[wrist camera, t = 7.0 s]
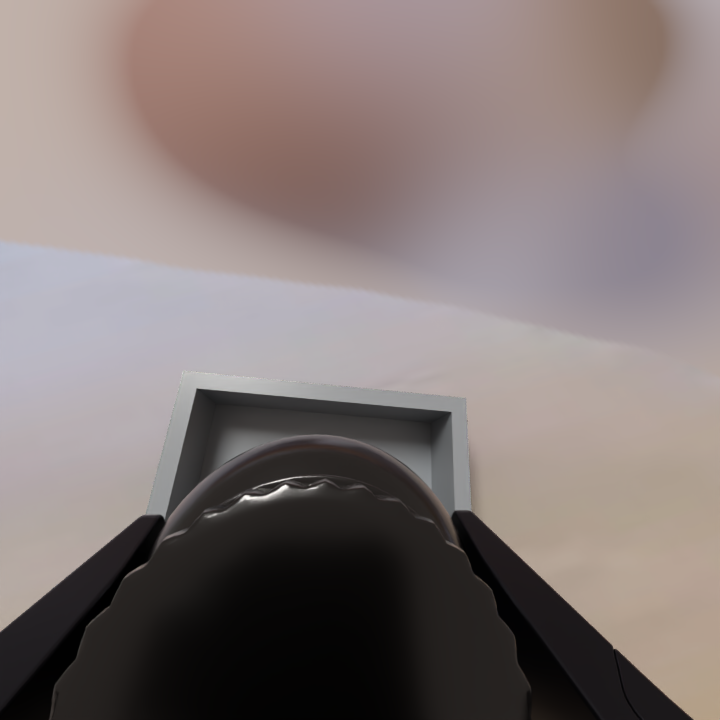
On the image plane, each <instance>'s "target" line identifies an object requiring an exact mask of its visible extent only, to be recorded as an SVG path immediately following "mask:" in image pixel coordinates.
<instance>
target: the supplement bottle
mask: <svg viewBox="0 0 720 720" xmlns="http://www.w3.org/2000/svg"><path fill="white" fill-rule="evenodd" d="M531 709H532V690H531V686H530V684H529V682H528V680H527V678H526V676H525V674H524V673H523V671H522V670H521V668H520V666H519V665H518V660H517V647H516V640H515V635H514V634H513V632H512V631H511V630H510V628H509V627H508V626H507V624H506V623H505V622H504V621H503V620H502V619H501V618H500V617H499V614H498V611H497V606H496V601H495V597H494V594H493V591H492V589H491V588H490V587H489V586H488V585H487V584H486V583H485V582H484V581H483V580H482V579H480V578H479V577H478V576H476V575H475V574H474V573H473V571H472V568H471V564H470V561H469V558H468V555H467V552H466V549H465V546H464V544H463V541H462V539H461V537H460V535H459V532H458V530H457V528H456V526H455V524H454V522H453V521H452V519H451V517H450V515H449V513H448V512H447V510H446V509H445V507H444V506H443V504H442V503H441V501H440V500H439V499H438V497H437V496H436V495H435V494H434V492H433V491H432V490H431V489H430V487H429V486H428V485H427V484H426V483H425V482H424V481H423V480H422V479H421V478H420V477H419V476H418V475H417V474H416V473H415V472H414V471H412V470H411V469H410V468H409V467H408V466H407V465H405V464H404V463H402V462H401V461H399V460H398V459H397V458H395V457H394V456H392V455H390V454H388V453H387V452H385V451H383V450H381V449H379V448H377V447H374V446H372V445H370V444H367V443H364V442H361V441H358V440H355V439H351V438H347V437H342V436H335V435H325V434H309V435H297V436H291V437H285V438H281V439H277V440H274V441H270V442H267V443H264V444H261V445H259V446H256V447H254V448H251V449H249V450H247V451H245V452H243V453H241V454H239V455H237V456H236V457H234V458H232V459H231V460H229V461H228V462H226V463H224V464H223V465H222V466H220V467H219V468H217V469H216V470H215V471H213V472H212V473H211V474H209V475H208V476H207V477H206V478H205V479H204V480H203V481H201V482H200V483H199V484H198V485H197V486H196V487H195V488H194V489H193V490H192V491H191V492H190V493H189V494H188V495H187V496H186V497H185V498H184V499H183V500H182V502H181V503H180V504H179V505H178V507H177V508H176V509H175V510H174V511H173V513H172V514H171V515H170V517H169V518H168V520H167V521H166V522H165V524H164V525H163V527H162V528H161V530H160V531H159V533H158V535H157V536H156V538H155V540H154V542H153V543H152V545H151V547H150V549H149V551H148V553H147V555H146V557H145V559H144V561H143V563H142V565H141V566H139V567H138V568H136V569H134V570H133V571H131V572H130V573H128V574H127V575H126V576H125V577H124V578H123V580H122V582H121V584H120V586H119V588H118V589H117V591H116V593H115V595H114V598H113V600H112V602H111V605H110V606H108V607H107V608H106V609H104V610H103V611H102V612H101V613H100V614H99V615H97V616H96V617H95V618H94V619H93V620H92V621H91V622H90V623H89V624H88V625H87V626H86V629H85V632H84V634H83V637H82V640H81V642H80V646H79V650H78V653H77V657H76V659H75V660H74V662H73V663H72V664H71V665H70V666H69V667H68V668H67V669H66V670H65V671H64V673H63V674H62V675H61V677H60V678H59V679H58V681H57V682H56V684H55V685H54V689H53V694H52V699H51V712H50V717H49V720H532V719H531Z"/></svg>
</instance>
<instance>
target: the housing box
mask: <svg viewBox="0 0 720 720" xmlns="http://www.w3.org/2000/svg"><path fill="white" fill-rule="evenodd" d="M309 434H325V435H335V436H342V437H347V438H351V439H355V440H358V441H361V442H364V443H367V444H370V445H372V446H374V447H377V448H379V449H381V450H383V451H385V452H387V453H388V454H390V455H392V456H394V457H395V458H397V459H398V460H399V461H401V462H402V463H404V464H405V465H407V466H408V467H409V468H410V469H411V470H412V471H414V472H415V473H416V474H417V475H418V476H419V477H420V478H421V479H422V480H423V481H424V482H425V483H426V484H427V485H428V486H429V487H430V489H431V490H432V491H433V492H434V494H435V495H436V496H437V497H438V499H439V500H440V501H441V503H442V504H443V506H444V507H445V509H446V510H447V512H448V513H449V515H450V517H451V516H452V513H453V512H454V511H455V510H469V511H471V491H470V471H469V450H468V429H467V408H466V398H461V397H451V396H440V395H430V394H419V393H409V392H399V391H388V390H378V389H367V388H357V387H347V386H336V385H326V384H316V383H305V382H295V381H284V380H274V379H264V378H253V377H243V376H232V375H222V374H212V373H201V372H191V371H183V374H182V378H181V382H180V385H179V389H178V393H177V397H176V401H175V404H174V408H173V412H172V416H171V420H170V423H169V427H168V431H167V435H166V439H165V442H164V446H163V450H162V454H161V458H160V461H159V465H158V469H157V473H156V477H155V480H154V484H153V488H152V492H151V495H150V499H149V503H148V507H147V511H146V514H145V515H150V514H160V515H162V516H163V517H164V520H165V522H166V521H167V520H168V518H169V517H170V515H171V514H172V513H173V511H174V510H175V509H176V508H177V507H178V505H179V504H180V503H181V502H182V500H183V499H184V498H185V497H186V496H187V495H188V494H189V493H190V492H191V491H192V490H193V489H194V488H195V487H196V486H197V485H198V484H199V483H200V482H201V481H203V480H204V479H205V478H206V477H207V476H208V475H209V474H211V473H212V472H213V471H215V470H216V469H217V468H219V467H220V466H222V465H223V464H224V463H226V462H228V461H229V460H231V459H232V458H234V457H236V456H237V455H239V454H241V453H243V452H245V451H247V450H249V449H251V448H254V447H256V446H259V445H261V444H264V443H267V442H270V441H274V440H277V439H281V438H285V437H291V436H297V435H309Z"/></svg>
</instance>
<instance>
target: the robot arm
mask: <svg viewBox="0 0 720 720" xmlns="http://www.w3.org/2000/svg"><path fill="white" fill-rule="evenodd" d="M451 519H452V521H453V522H454V524H455V526H456V528H457V530H458V532H459V535H460V537H461V539H462V541H463V544H464V546H465V549H466V552H467V555H468V558H469V561H470V564H471V568H472V571H473V573H474V574H475V575H476V576H478V577H479V578H480V579H482V580H483V581H484V582H485V583H486V584H487V585H488V586H489V587H490V588H491V589H492V591H493V594H494V597H495V601H496V606H497V611H498V614H499V617H500V618H501V619H502V620H503V621H504V622H505V623H506V624H507V626H508V627H509V628H510V630H511V631H512V632H513V634H514V635H515V640H516V647H517V660H518V665H519V666H520V668H521V670H522V671H523V673H524V674H525V676H526V678H527V680H528V682H529V684H530V686H531V690H532V709H531V719H532V720H693V719H692V718H691V717H690V716H689V715H688V714H687V713H685V712H684V711H683V710H682V709H681V708H680V707H679V706H677V705H676V704H675V703H674V702H673V701H672V700H671V699H669V698H668V697H667V696H666V695H665V694H664V693H663V692H662V691H661V690H660V689H659V688H658V687H656V686H655V685H654V684H653V683H652V682H651V681H650V680H649V679H648V678H647V677H646V676H645V675H643V674H642V673H641V672H640V671H639V670H638V669H637V668H636V667H635V666H634V665H633V664H632V663H631V662H630V661H629V660H628V659H626V658H625V657H624V656H623V655H622V654H621V653H620V652H619V651H618V650H617V649H613V646H612V645H611V644H610V643H609V642H608V641H607V640H606V639H605V638H604V637H603V636H602V635H601V634H600V633H599V632H598V631H597V630H596V629H595V628H594V627H593V626H592V625H591V624H589V623H588V622H587V621H586V620H585V619H584V618H583V617H582V616H581V615H580V614H579V613H578V612H577V611H576V610H575V609H574V608H573V607H572V606H571V605H569V604H568V603H567V602H566V601H565V600H564V599H563V598H562V597H561V596H560V595H559V594H558V593H557V592H556V591H555V590H554V589H553V588H552V587H551V586H550V585H548V584H547V583H546V582H545V581H544V580H543V579H542V578H541V577H540V576H539V575H538V574H537V573H536V572H535V571H534V570H533V569H532V568H531V567H530V566H528V565H527V564H526V563H525V562H524V561H523V560H522V559H521V558H520V557H519V556H518V555H517V554H516V553H515V552H514V551H513V550H512V549H511V548H510V547H509V546H507V545H506V544H505V543H504V542H503V541H502V540H501V539H500V538H499V537H498V536H497V535H496V534H495V533H494V532H493V531H492V530H491V529H490V528H489V527H487V526H486V525H485V524H484V523H483V522H482V521H481V520H480V519H479V518H478V517H477V516H476V515H475V514H474V513H473V512H471V511H469V510H455V511H454V512H453V513H452V516H451ZM164 524H165V520H164V517H163V516H162V515H160V514H150V515H143V516H141V517H139V518H138V519H137V520H135V521H134V522H133V523H132V524H131V525H129V526H128V527H127V528H126V529H124V530H123V531H122V532H121V533H120V534H118V535H117V536H116V537H115V538H114V539H112V540H111V541H110V542H109V543H107V544H106V545H105V546H104V547H103V548H101V549H100V550H99V551H98V552H97V553H95V554H94V555H93V556H92V557H91V558H89V559H88V560H87V561H86V562H84V563H83V564H82V565H81V566H80V567H78V568H77V569H76V570H75V571H74V572H72V573H71V574H70V575H69V576H68V577H66V578H65V579H64V580H63V581H61V582H60V583H59V584H58V585H57V586H55V587H54V588H53V589H52V590H51V591H49V592H48V593H47V594H46V595H44V596H43V597H42V598H41V599H40V600H38V601H37V602H36V603H35V604H34V605H32V606H31V607H30V608H29V609H28V610H26V611H25V612H24V613H23V614H21V615H20V616H19V617H18V618H17V619H15V620H14V621H13V622H12V623H11V624H9V625H8V626H7V627H6V628H5V629H3V630H2V631H1V632H0V720H49V717H50V712H51V699H52V694H53V689H54V685H55V684H56V682H57V681H58V679H59V678H60V677H61V675H62V674H63V673H64V671H65V670H66V669H67V668H68V667H69V666H70V665H71V664H72V663H73V662H74V660H75V659H76V657H77V653H78V650H79V646H80V642H81V640H82V637H83V634H84V632H85V629H86V626H87V625H88V624H89V623H90V622H91V621H92V620H93V619H94V618H95V617H96V616H97V615H99V614H100V613H101V612H102V611H103V610H104V609H106V608H107V607H108V606H110V605H111V602H112V600H113V598H114V595H115V593H116V591H117V589H118V588H119V586H120V584H121V582H122V580H123V578H124V577H125V576H126V575H127V574H128V573H130V572H131V571H133V570H134V569H136V568H138V567H139V566H141V565H142V563H143V561H144V559H145V557H146V555H147V553H148V551H149V549H150V547H151V545H152V543H153V542H154V540H155V538H156V536H157V535H158V533H159V531H160V530H161V528H162V527H163V525H164Z"/></svg>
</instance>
